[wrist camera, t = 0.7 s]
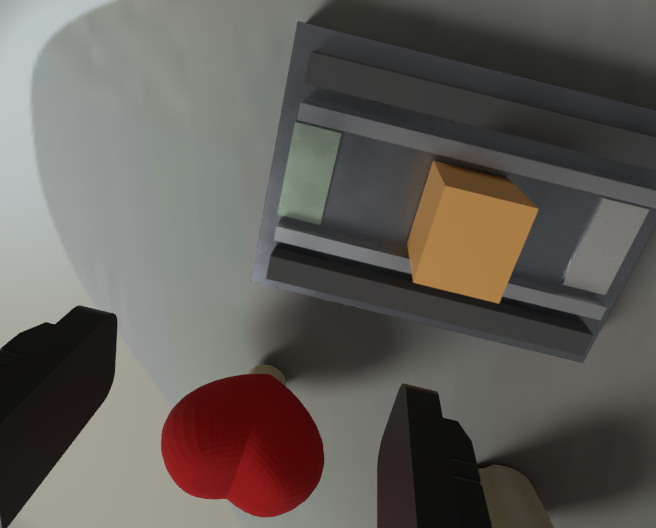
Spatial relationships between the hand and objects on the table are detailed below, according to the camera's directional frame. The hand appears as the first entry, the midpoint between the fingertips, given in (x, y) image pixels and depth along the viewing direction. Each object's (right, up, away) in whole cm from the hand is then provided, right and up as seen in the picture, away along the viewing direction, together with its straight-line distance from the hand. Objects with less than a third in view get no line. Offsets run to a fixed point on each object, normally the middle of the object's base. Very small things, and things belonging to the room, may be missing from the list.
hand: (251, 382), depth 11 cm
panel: (+9, +6, +18) cm, 21 cm away
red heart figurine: (-2, -5, +24) cm, 25 cm away
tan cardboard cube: (+8, +5, +15) cm, 18 cm away
